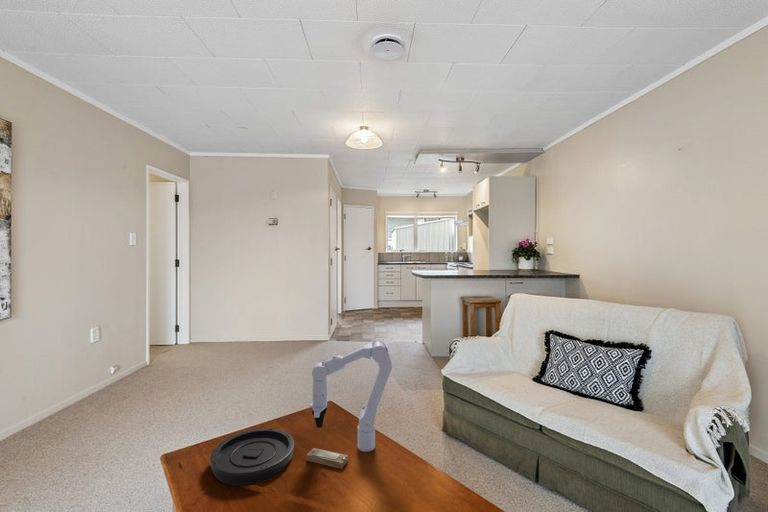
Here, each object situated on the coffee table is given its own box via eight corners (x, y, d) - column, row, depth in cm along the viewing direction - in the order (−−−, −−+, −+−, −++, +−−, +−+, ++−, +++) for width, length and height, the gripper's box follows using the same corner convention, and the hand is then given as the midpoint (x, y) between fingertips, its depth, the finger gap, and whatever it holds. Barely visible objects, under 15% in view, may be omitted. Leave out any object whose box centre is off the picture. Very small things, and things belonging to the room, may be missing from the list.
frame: (313, 453, 135) (313, 446, 135) (348, 461, 130) (348, 454, 130) (306, 460, 131) (306, 453, 130) (343, 469, 126) (343, 462, 126)
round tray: (275, 492, 115) (304, 443, 145) (275, 475, 115) (304, 429, 145) (191, 486, 118) (237, 439, 148) (191, 469, 118) (237, 425, 148)
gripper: (313, 386, 146) (312, 418, 146) (306, 401, 131) (305, 436, 132) (329, 386, 146) (329, 418, 146) (324, 401, 132) (324, 436, 132)
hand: (319, 426), depth 139 cm, fingers closed
